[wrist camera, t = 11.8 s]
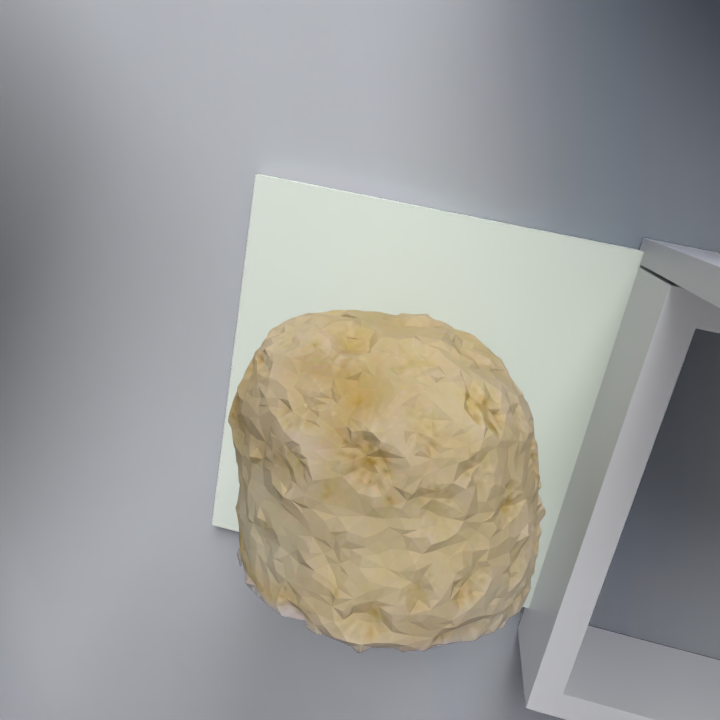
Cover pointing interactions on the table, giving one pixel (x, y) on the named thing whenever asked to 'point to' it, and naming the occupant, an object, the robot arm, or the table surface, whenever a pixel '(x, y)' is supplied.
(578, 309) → the mat
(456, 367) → the coral
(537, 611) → the case
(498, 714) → the table surface
